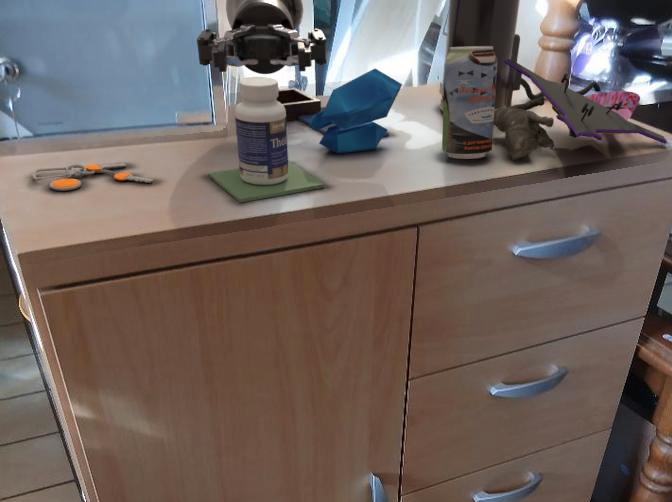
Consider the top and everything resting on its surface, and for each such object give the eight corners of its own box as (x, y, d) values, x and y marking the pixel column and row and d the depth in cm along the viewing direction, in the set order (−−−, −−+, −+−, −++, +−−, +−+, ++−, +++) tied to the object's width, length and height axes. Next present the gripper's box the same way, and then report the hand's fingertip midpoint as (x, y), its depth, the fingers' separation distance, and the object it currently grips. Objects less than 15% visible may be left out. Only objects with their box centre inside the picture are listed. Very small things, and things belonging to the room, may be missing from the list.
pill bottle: (281, 188, 80) (275, 89, 74) (233, 184, 81) (224, 85, 74) (294, 172, 84) (291, 76, 78) (249, 168, 85) (242, 73, 78)
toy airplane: (690, 159, 78) (663, 204, 81) (677, 111, 98) (655, 149, 101) (486, 69, 78) (467, 117, 81) (515, 40, 98) (499, 79, 102)
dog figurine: (535, 135, 98) (480, 146, 98) (535, 87, 94) (477, 99, 94) (563, 165, 89) (502, 177, 89) (564, 114, 85) (500, 127, 85)
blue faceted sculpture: (293, 86, 88) (379, 52, 90) (310, 158, 94) (390, 124, 97) (319, 101, 83) (410, 65, 86) (335, 176, 89) (420, 140, 92)
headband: (642, 123, 97) (651, 106, 96) (624, 106, 95) (633, 89, 94) (588, 124, 106) (595, 110, 105) (570, 109, 104) (577, 94, 103)
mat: (288, 164, 88) (288, 160, 87) (324, 187, 82) (324, 184, 81) (208, 176, 84) (208, 173, 83) (240, 202, 78) (239, 198, 78)
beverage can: (458, 169, 87) (470, 53, 80) (426, 151, 92) (434, 40, 84) (502, 162, 90) (517, 49, 82) (468, 145, 95) (479, 37, 87)
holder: (295, 102, 109) (295, 87, 107) (321, 116, 103) (321, 100, 102) (245, 108, 105) (244, 93, 104) (269, 123, 100) (268, 107, 99)
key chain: (30, 193, 78) (28, 185, 78) (33, 170, 84) (31, 163, 83) (154, 186, 81) (153, 178, 81) (149, 164, 87) (148, 157, 86)
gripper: (200, -4, 88) (189, 20, 76) (320, -4, 89) (328, 19, 77) (208, 66, 93) (199, 100, 81) (321, 66, 94) (329, 99, 82)
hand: (262, 61), depth 79 cm, fingers open, 8 cm apart
